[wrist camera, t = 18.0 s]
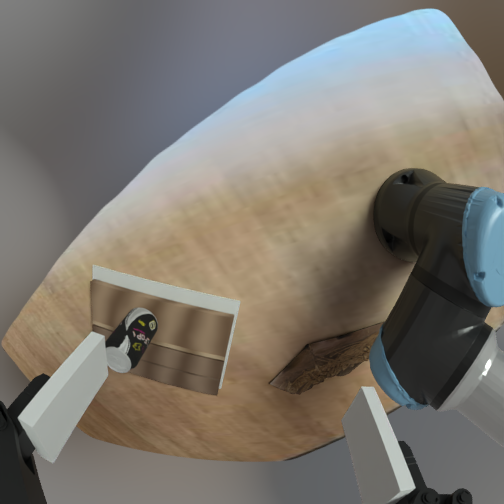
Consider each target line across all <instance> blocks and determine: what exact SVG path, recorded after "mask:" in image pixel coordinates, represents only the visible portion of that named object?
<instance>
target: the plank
mask: <svg viewBox="0 0 504 504" xmlns="http://www.w3.org/2000/svg"><path fill="white" fill-rule="evenodd" d="M91 307H92V324H94V325H97V326H100V327H103V328H106V329H109V330H112V331H114V330H115V329H116V328H117V326H118V325H119V324H120V323H121V322H122V320H123V319H124V318H125V317H126V315H127V314H128V313H129V312H130V311H131V310H132V309H134V308H138V307H139V308H145V309H147V310H149V311H150V312H151V313H152V314H153V315H154V316H155V318H156V319H157V322H158V329H157V332H156V333H155V335H154V337H153V338H152V340H151V342H150V343H154V344H157V345H161V346H164V347H168V348H172V349H176V350H180V351H184V352H188V353H192V354H196V355H200V356H204V357H209V358H213V359H218V360H223V361H225V356H226V352H227V347H228V343H229V338H230V333H231V329H232V324H233V320H234V314H229V313H224V312H220V311H215V310H211V309H206V308H202V307H198V306H193V305H189V304H185V303H181V302H177V301H173V300H169V299H165V298H161V297H157V296H153V295H149V294H146V293H142V292H138V291H135V290H131V289H127V288H124V287H120V286H117V285H113V284H110V283H107V282H103V281H100V280H97V279H93V280H92V281H91Z"/></svg>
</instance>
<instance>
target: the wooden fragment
mask: <svg viewBox="0 0 504 504" xmlns="http://www.w3.org/2000/svg"><path fill="white" fill-rule="evenodd" d="M383 323H384V322H382V323H379V324H376V325H373V326H371V327H367V328H364V329H361V330H358V331H355V332H352V333H349V334H346V335H343V336H340V337H336V338H332V339H328V340H325V341H320V342H316V343H313V344H310V346H309V344H307V345H306V346H305V348H304V350H302V351H301V352H300V354H298V356H297V357H296V358H295V359H294V360H293V361H292V362H291V363H290V364H289V365H288V366H287V367H286V368H285V369H284V370H283V371H282V372H281V373H279V375H278V376H277V377H276V378H275V379H274V380H273V381H272V382H271V383H269V384H271V385H273V386H275V387H277V388H279V389H281V390H284V391H287V392H289V393H291V394H295V393H296V394H301V393H302V392H305V391H306V390H309V389H310V388H312V387H313V385H316V384H319V383H320V382H324V378H327V377H328V378H329V377H333V376H335V375H337V376H344V375H346V374H348V373H350V372H351V371H352V370H353V369H355V368H356V367H357V366H358V365H359V364H361V363H362V362H363V361H368V359H369V354H370V350H371V347H372V345H373V344H374V342H375V340H376V338H377V336H378V334H379V330H380V327H381V326H382V324H383Z"/></svg>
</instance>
